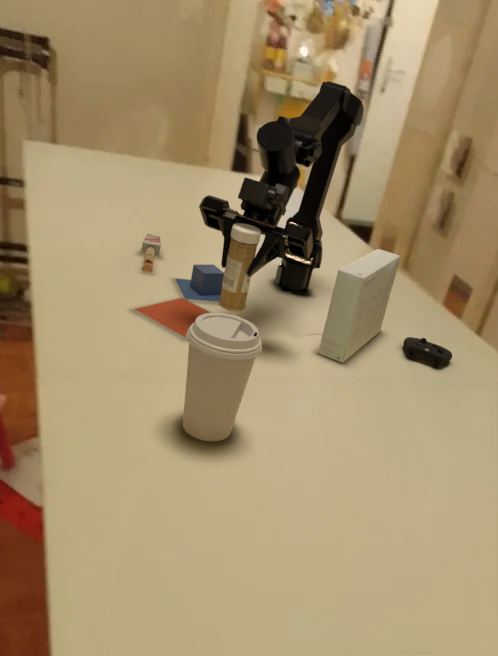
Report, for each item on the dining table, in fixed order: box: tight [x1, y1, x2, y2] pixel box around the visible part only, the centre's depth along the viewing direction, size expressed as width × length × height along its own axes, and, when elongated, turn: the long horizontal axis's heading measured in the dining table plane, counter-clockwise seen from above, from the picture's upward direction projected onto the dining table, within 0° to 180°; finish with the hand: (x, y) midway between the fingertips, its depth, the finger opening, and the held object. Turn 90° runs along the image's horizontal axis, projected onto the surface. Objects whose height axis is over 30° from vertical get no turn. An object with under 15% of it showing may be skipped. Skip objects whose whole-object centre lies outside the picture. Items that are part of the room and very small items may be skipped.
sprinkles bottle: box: [218, 223, 262, 312], centre depth 108 cm, size 5×5×14 cm
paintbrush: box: [140, 233, 162, 273], centre depth 142 cm, size 4×3×20 cm
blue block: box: [190, 263, 225, 295], centre depth 131 cm, size 4×4×4 cm
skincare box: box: [318, 248, 402, 364], centre depth 124 cm, size 21×6×16 cm, turn 154°
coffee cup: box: [182, 312, 263, 442], centre depth 87 cm, size 10×10×15 cm
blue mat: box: [175, 278, 221, 303], centre depth 132 cm, size 10×10×1 cm
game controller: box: [403, 336, 453, 368], centre depth 129 cm, size 10×5×6 cm
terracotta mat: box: [134, 297, 211, 338], centre depth 119 cm, size 12×12×1 cm
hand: (235, 270), depth 107 cm, fingers closed on sprinkles bottle, 4 cm apart
